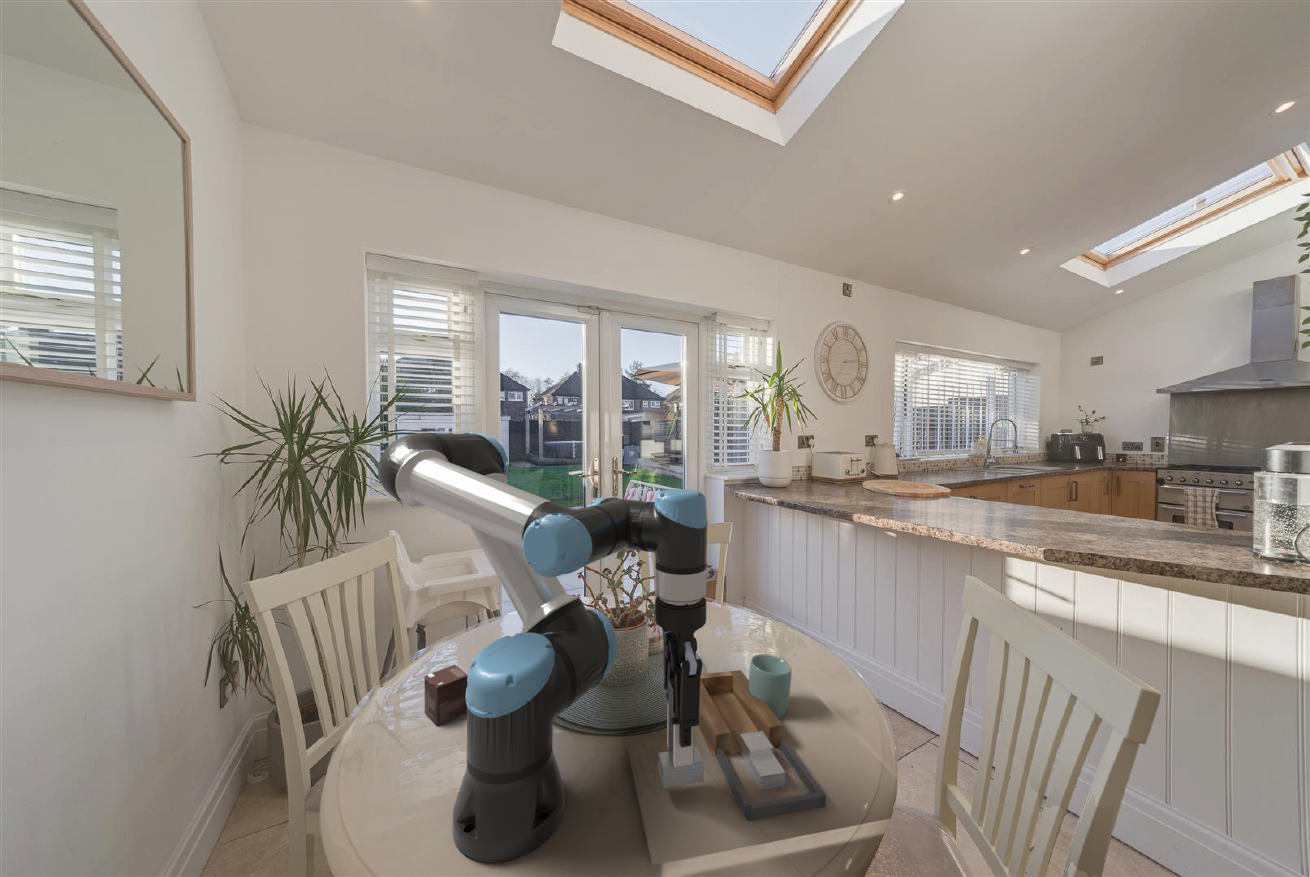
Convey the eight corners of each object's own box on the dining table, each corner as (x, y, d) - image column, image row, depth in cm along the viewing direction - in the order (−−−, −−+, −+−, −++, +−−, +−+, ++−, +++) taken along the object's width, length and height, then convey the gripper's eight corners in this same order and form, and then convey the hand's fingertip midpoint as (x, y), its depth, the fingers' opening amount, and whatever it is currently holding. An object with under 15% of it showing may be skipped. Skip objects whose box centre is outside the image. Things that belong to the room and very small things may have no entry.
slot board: (712, 765, 73) (713, 735, 73) (683, 700, 91) (683, 676, 91) (785, 754, 76) (785, 725, 76) (742, 693, 94) (743, 669, 94)
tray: (746, 831, 61) (747, 809, 61) (716, 767, 73) (716, 748, 73) (825, 816, 64) (825, 795, 64) (784, 756, 75) (784, 739, 75)
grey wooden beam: (663, 788, 64) (663, 691, 64) (658, 772, 67) (658, 679, 66) (703, 781, 65) (703, 686, 65) (697, 766, 68) (697, 675, 68)
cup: (789, 732, 82) (794, 678, 82) (746, 723, 83) (750, 669, 84) (785, 708, 90) (789, 658, 90) (746, 700, 91) (750, 651, 91)
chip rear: (749, 769, 70) (750, 751, 70) (739, 751, 74) (740, 734, 74) (773, 766, 71) (773, 747, 71) (762, 748, 75) (762, 731, 75)
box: (468, 712, 86) (468, 675, 86) (436, 727, 82) (436, 687, 82) (455, 699, 91) (455, 663, 90) (423, 713, 86) (423, 675, 86)
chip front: (760, 796, 67) (760, 776, 67) (749, 776, 70) (749, 757, 70) (785, 792, 67) (785, 772, 67) (772, 772, 71) (772, 753, 71)
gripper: (724, 616, 58) (723, 793, 59) (689, 577, 74) (688, 717, 74) (669, 620, 57) (667, 803, 57) (645, 579, 73) (644, 723, 73)
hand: (679, 754), depth 66 cm, fingers closed on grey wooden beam, 3 cm apart
